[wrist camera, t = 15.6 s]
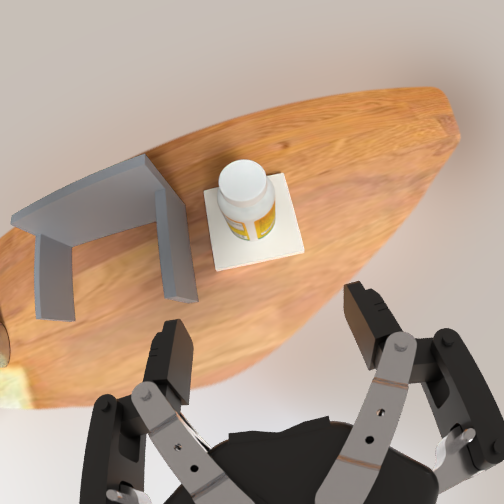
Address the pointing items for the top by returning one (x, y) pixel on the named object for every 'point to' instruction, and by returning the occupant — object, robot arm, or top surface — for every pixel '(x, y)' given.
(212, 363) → the top surface
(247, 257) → the mat
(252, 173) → the supplement bottle
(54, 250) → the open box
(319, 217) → the top surface
